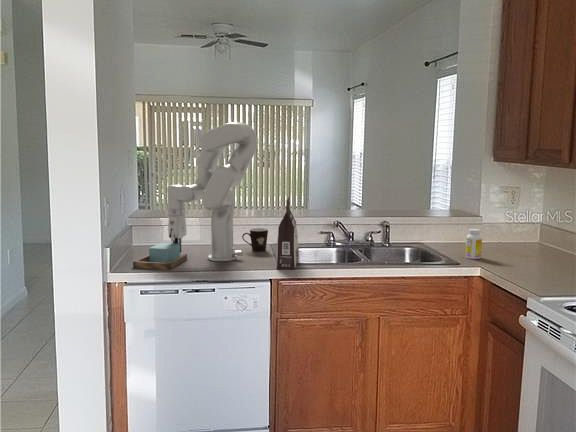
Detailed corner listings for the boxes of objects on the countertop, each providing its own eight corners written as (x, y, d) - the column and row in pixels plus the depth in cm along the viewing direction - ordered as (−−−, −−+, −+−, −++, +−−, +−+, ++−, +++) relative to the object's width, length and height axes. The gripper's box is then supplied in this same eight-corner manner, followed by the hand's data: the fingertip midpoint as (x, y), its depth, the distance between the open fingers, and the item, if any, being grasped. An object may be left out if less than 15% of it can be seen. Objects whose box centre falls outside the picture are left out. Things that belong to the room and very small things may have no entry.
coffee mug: (269, 249, 251) (269, 228, 250) (266, 252, 243) (266, 231, 241) (245, 248, 253) (245, 227, 251) (241, 251, 244) (241, 230, 243)
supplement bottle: (481, 257, 237) (483, 229, 235) (480, 260, 231) (482, 231, 229) (466, 255, 240) (467, 227, 238) (464, 258, 234) (465, 230, 232)
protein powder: (297, 269, 211) (297, 200, 208) (275, 269, 212) (275, 200, 208) (298, 260, 228) (299, 196, 224) (278, 260, 228) (278, 196, 224)
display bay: (187, 259, 227) (187, 254, 227) (170, 269, 209) (169, 263, 209) (152, 258, 230) (152, 252, 230) (133, 267, 212) (132, 261, 212)
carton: (180, 256, 233) (179, 243, 233) (167, 262, 222) (167, 249, 221) (162, 255, 236) (162, 242, 235) (149, 261, 224) (149, 247, 223)
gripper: (177, 214, 226) (178, 256, 229) (190, 210, 241) (191, 249, 243) (161, 214, 228) (162, 255, 230) (175, 209, 242) (176, 248, 245)
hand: (177, 252), depth 237 cm, fingers closed
